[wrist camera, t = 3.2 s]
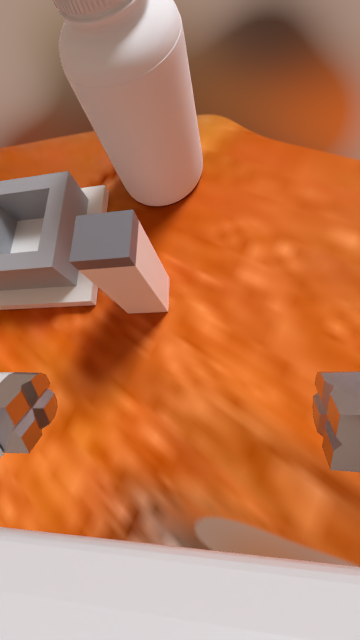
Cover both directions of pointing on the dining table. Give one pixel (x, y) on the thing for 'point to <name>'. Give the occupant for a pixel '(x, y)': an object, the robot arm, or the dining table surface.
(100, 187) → the socket
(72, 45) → the pill bottle
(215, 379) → the dining table surface
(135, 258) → the plug
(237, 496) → the dining table surface
